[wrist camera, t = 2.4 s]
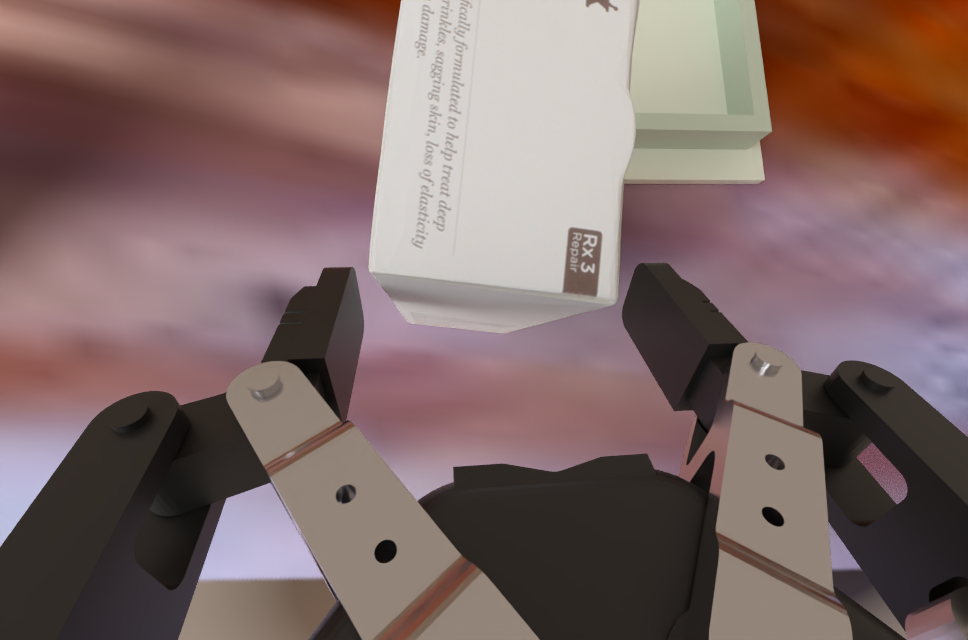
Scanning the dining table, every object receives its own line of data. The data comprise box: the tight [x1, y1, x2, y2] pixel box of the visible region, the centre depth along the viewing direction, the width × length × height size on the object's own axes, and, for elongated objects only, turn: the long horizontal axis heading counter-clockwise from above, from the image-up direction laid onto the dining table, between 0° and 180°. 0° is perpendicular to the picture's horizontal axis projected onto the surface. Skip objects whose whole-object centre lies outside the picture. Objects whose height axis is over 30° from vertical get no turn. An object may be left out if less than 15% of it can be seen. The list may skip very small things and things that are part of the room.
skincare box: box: [369, 0, 640, 333], centre depth 16 cm, size 8×6×15 cm
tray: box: [624, 0, 772, 184], centre depth 25 cm, size 14×18×3 cm
